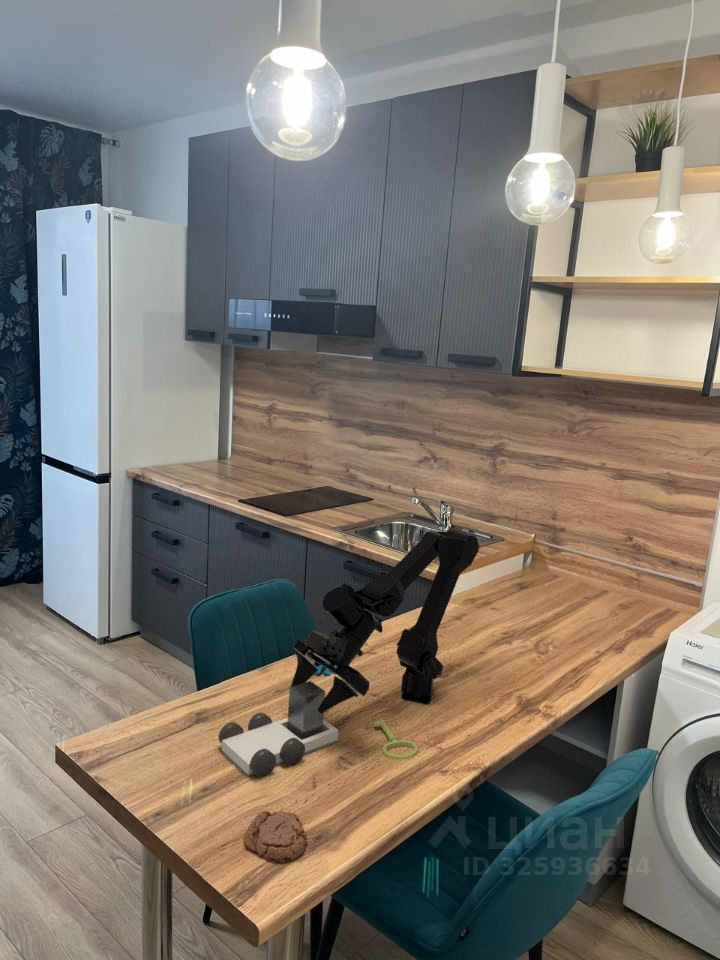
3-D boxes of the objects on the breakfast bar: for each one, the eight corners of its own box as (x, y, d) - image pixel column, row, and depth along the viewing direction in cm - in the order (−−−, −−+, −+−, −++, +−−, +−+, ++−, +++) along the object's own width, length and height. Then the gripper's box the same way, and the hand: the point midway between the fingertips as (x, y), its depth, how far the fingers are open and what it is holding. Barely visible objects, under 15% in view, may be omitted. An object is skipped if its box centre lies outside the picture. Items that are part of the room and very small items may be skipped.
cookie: (275, 874, 108) (276, 857, 108) (231, 838, 115) (232, 821, 115) (323, 844, 116) (324, 827, 115) (278, 811, 123) (279, 795, 122)
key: (380, 726, 152) (381, 716, 152) (422, 754, 143) (423, 744, 143) (354, 736, 147) (355, 726, 147) (395, 766, 138) (396, 756, 138)
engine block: (307, 726, 148) (310, 681, 146) (322, 737, 144) (325, 691, 142) (286, 733, 145) (289, 687, 143) (301, 745, 141) (304, 698, 139)
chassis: (304, 717, 152) (306, 697, 151) (342, 745, 143) (344, 724, 142) (217, 748, 139) (218, 726, 138) (253, 781, 130) (254, 757, 129)
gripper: (303, 601, 150) (255, 663, 145) (362, 633, 136) (311, 703, 131) (330, 629, 156) (285, 689, 152) (390, 662, 143) (342, 730, 138)
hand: (304, 702), depth 143 cm, fingers open, 9 cm apart
